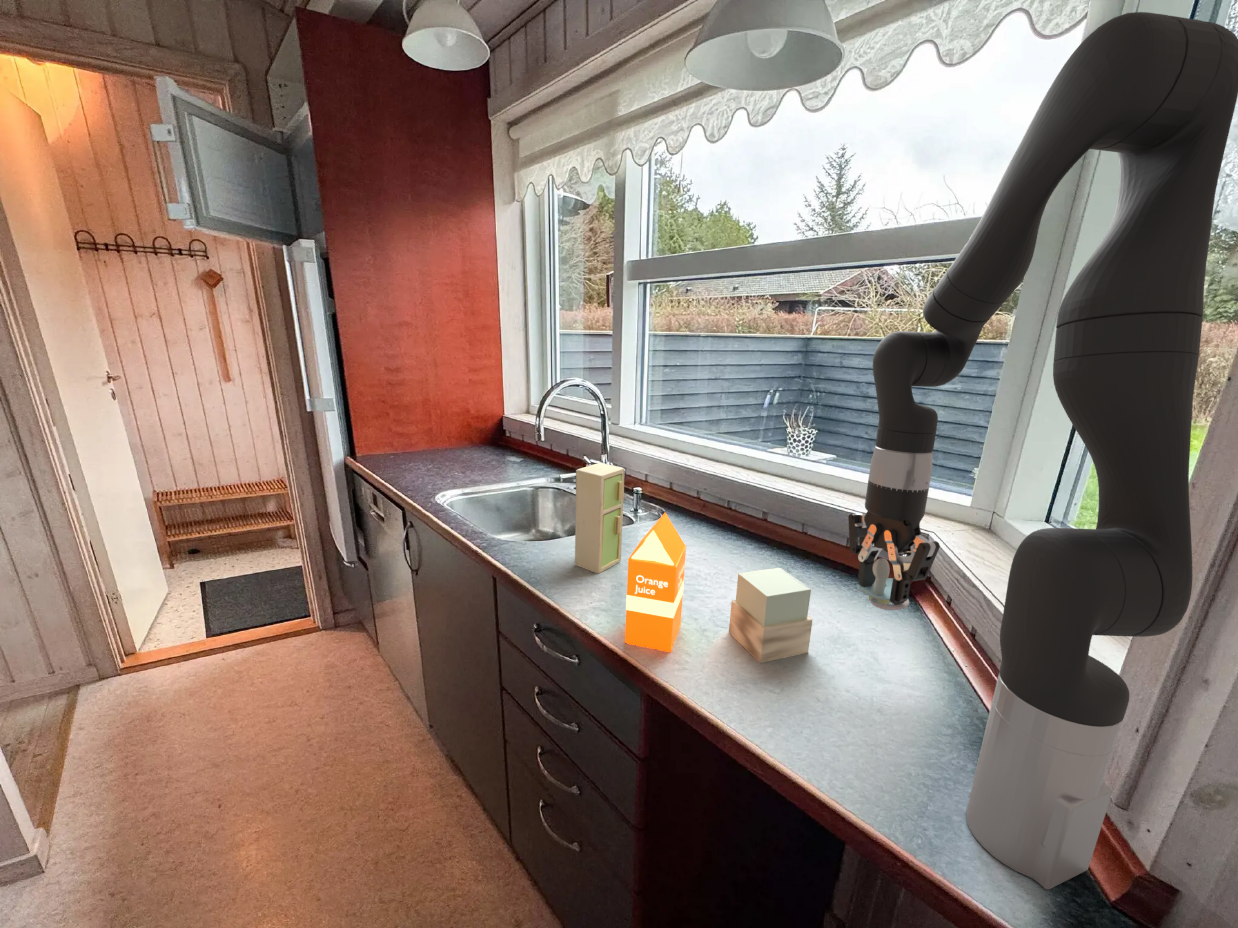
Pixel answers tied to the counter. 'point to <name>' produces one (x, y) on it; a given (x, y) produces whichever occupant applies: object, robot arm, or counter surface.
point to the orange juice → (655, 588)
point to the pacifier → (882, 587)
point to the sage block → (772, 596)
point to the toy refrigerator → (599, 516)
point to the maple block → (769, 635)
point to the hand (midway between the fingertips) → (880, 593)
